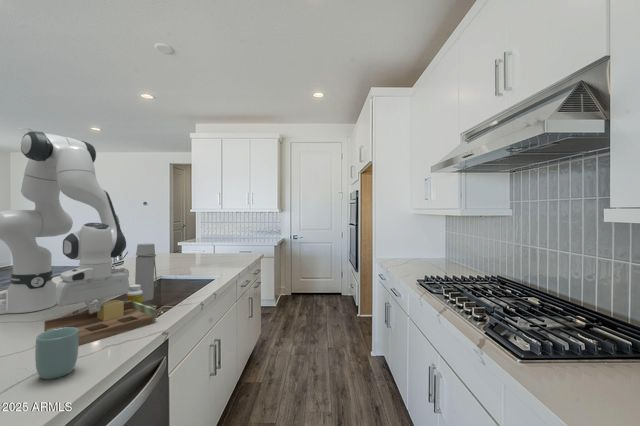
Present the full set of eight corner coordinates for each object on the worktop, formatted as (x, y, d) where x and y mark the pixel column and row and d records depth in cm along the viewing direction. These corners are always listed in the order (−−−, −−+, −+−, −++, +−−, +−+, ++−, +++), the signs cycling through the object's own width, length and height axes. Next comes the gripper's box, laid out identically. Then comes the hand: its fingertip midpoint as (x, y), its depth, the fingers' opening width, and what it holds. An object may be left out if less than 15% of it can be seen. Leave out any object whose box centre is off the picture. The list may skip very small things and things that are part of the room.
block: (97, 317, 103) (97, 303, 103) (116, 313, 108) (117, 299, 108) (103, 320, 100) (104, 305, 100) (123, 316, 105) (123, 301, 105)
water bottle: (141, 303, 128) (143, 245, 128) (130, 300, 131) (132, 244, 131) (161, 298, 136) (162, 243, 136) (150, 296, 139) (152, 242, 140)
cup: (34, 374, 72) (35, 332, 72) (75, 363, 77) (77, 324, 77) (34, 388, 66) (36, 342, 66) (79, 375, 72) (80, 333, 72)
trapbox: (44, 336, 93) (44, 319, 93) (132, 314, 115) (133, 299, 115) (64, 349, 84) (64, 330, 84) (155, 322, 106) (155, 307, 107)
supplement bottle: (134, 312, 117) (135, 287, 117) (122, 311, 118) (123, 286, 118) (145, 308, 122) (145, 284, 122) (134, 307, 123) (134, 283, 123)
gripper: (124, 266, 111) (123, 303, 111) (53, 274, 94) (52, 319, 93) (133, 268, 107) (132, 306, 107) (61, 277, 90) (60, 323, 90)
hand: (94, 312), depth 100 cm, fingers closed
